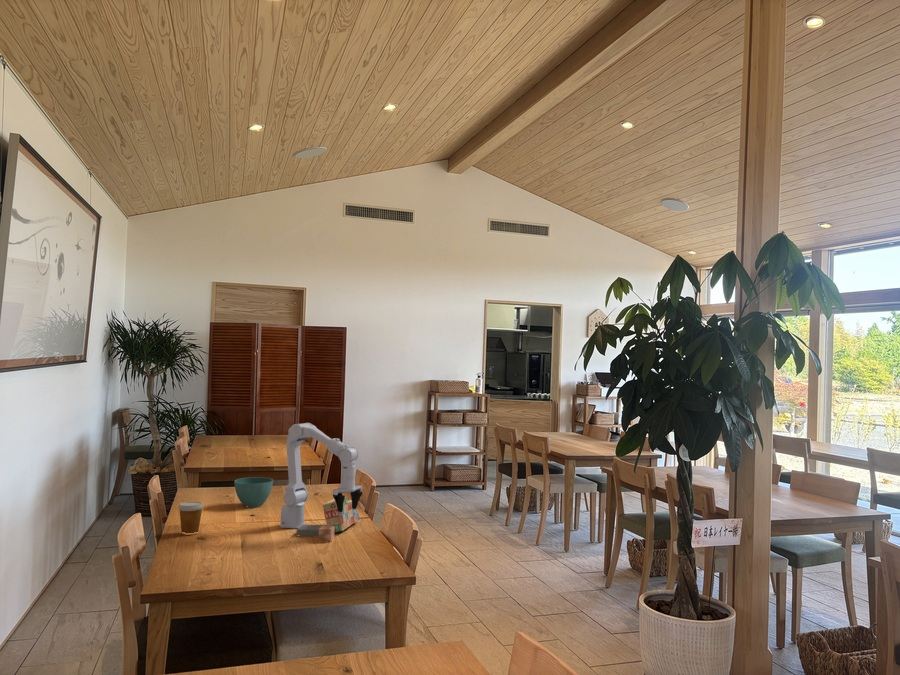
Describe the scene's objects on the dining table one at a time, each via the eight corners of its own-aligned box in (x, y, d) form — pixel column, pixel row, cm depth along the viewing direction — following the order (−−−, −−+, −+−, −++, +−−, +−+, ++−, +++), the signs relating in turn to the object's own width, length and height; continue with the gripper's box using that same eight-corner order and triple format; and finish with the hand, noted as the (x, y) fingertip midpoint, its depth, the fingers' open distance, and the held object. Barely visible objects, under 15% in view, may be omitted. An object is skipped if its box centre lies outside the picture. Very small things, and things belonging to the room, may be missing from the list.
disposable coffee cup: (207, 532, 273) (208, 502, 274) (189, 537, 265) (190, 506, 265) (190, 529, 277) (191, 500, 278) (172, 534, 269) (173, 504, 269)
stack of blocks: (346, 522, 295) (341, 494, 297) (359, 519, 294) (354, 492, 295) (328, 533, 275) (322, 504, 276) (342, 531, 273) (336, 501, 275)
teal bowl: (280, 504, 329) (281, 479, 330) (251, 511, 314) (252, 484, 314) (254, 500, 339) (255, 476, 340) (225, 506, 324) (226, 480, 324)
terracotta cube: (318, 541, 262) (318, 528, 263) (322, 538, 267) (322, 525, 268) (331, 542, 262) (331, 529, 262) (334, 539, 267) (334, 526, 267)
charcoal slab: (296, 537, 270) (296, 529, 270) (303, 531, 279) (303, 524, 279) (318, 537, 269) (318, 530, 270) (324, 532, 278) (324, 525, 279)
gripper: (341, 480, 269) (340, 514, 268) (367, 476, 280) (366, 509, 279) (329, 478, 273) (328, 511, 273) (356, 474, 285) (355, 506, 284)
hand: (347, 510), depth 276 cm, fingers open, 7 cm apart
